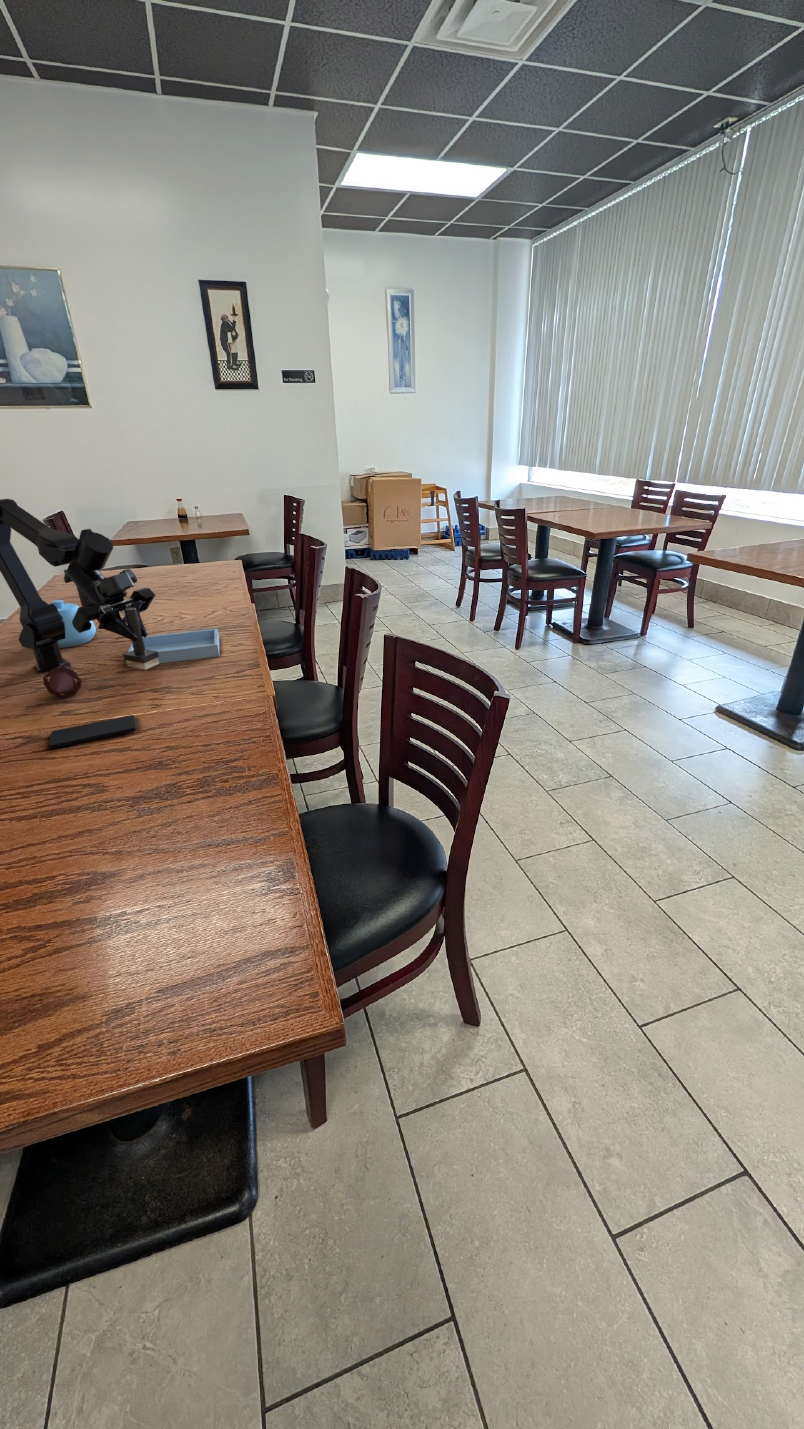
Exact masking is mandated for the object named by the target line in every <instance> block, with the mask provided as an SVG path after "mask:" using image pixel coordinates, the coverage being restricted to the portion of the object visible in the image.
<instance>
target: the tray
mask: <svg viewBox="0 0 804 1429" xmlns="http://www.w3.org/2000/svg"><path fill="white" fill-rule="evenodd" d="M218 630H219V629H218V628H209V629H199V630H190V631H183V632H182V631H181V632H175V633H164V634H156V635H147V636H146V637H143V641H144V645H145V649H147V650H153V651H158V655H159V657H158V661H159V664H165V663H166V664H167V663H174V662H182V661H183V662H184V661H191V660H200V659H206V658H207V659H208V658H216V657H220V636H219V631H218ZM132 650H134V649H133V645H132V643H131V644H130V646H129V648H128V651H127V652H130V651H132ZM159 664H158V665H159Z"/></svg>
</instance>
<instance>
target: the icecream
mask: <svg viewBox="0 0 804 1429" xmlns="http://www.w3.org/2000/svg"><path fill="white" fill-rule="evenodd" d="M42 682H43V683H42V684H43V686H44V687H45V688H46V690H47V692H48V693H49V694H50V695H53V696H57V697H59V698H67V697H74V696H75V695H76V694H77V693H78V692H79V690H80V689H81V688H82V679H81V678H80V677H79V673H78V672H77V671H75V670H74V669H72V663H71V662H70V661H66V662H65V663H63V664H62V667H57V668H54V669H51V670H48V671H47V673H46V674H45V675H44V676H43V677H42Z"/></svg>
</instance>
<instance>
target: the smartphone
mask: <svg viewBox="0 0 804 1429" xmlns="http://www.w3.org/2000/svg"><path fill="white" fill-rule="evenodd" d="M136 722H137V721H136V716H135V715H133V714H129V715H126V716H125V715H124V716H120V717H116V718H110V719H106V720H101V721H96V722H90V723H85V724H81V725H75V726H70V727H66V728H61V729H56V730H52V731H51V732H50V735H49V741H48V748H49V749H56V748H62V747H67V746H71V745H76V744H81V743H85V742H90V741H96V740H99V739H104V738H110V737H114V736H119V735H124V734H129V733H132V732H135V731H137V723H136Z"/></svg>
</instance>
